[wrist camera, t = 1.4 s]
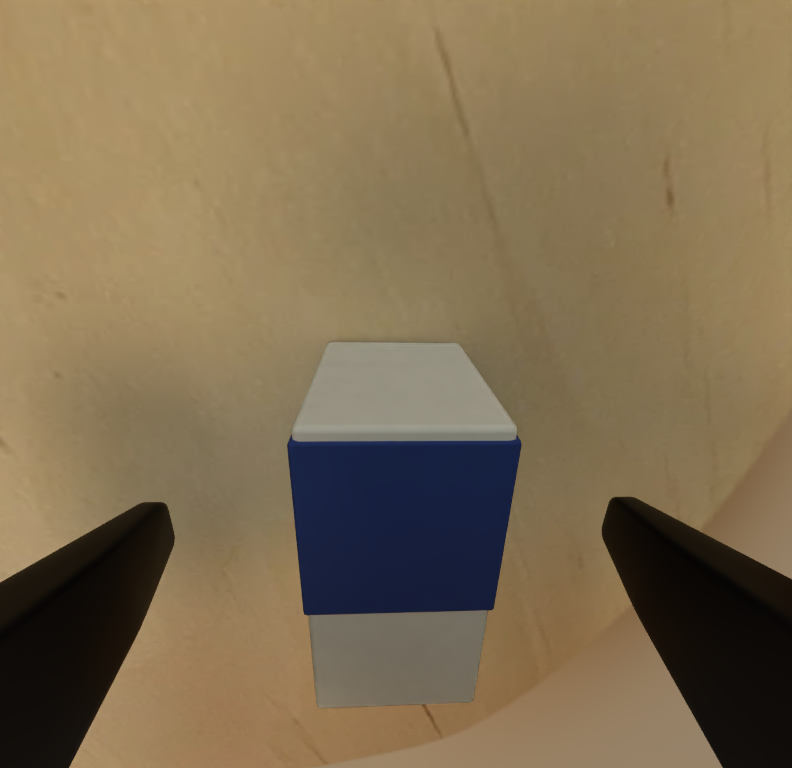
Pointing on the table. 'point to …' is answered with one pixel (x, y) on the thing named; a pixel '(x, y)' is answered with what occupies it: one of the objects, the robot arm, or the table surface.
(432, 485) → the eraser
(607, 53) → the table surface
